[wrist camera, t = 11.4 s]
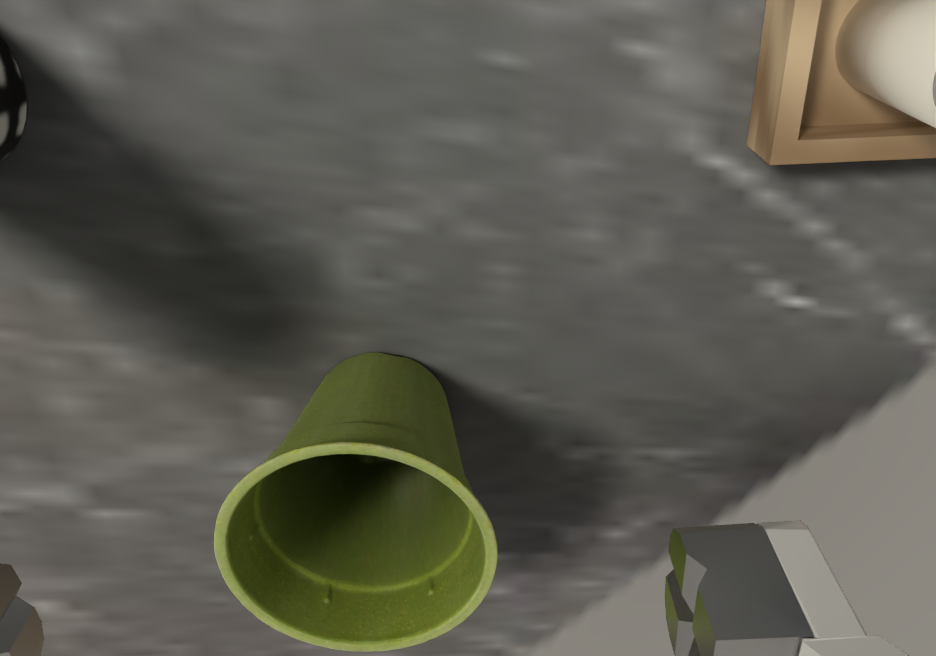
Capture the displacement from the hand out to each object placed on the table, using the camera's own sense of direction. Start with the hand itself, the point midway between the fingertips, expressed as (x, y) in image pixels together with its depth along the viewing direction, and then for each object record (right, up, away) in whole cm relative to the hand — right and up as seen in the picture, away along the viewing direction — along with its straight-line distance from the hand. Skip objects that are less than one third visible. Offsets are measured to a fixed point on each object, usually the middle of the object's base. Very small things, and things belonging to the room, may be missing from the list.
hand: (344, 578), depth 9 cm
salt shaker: (+19, +15, +22) cm, 33 cm away
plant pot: (-3, -1, +32) cm, 32 cm away
